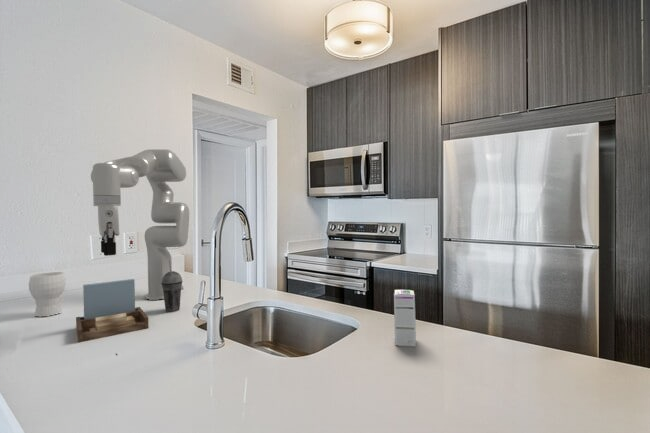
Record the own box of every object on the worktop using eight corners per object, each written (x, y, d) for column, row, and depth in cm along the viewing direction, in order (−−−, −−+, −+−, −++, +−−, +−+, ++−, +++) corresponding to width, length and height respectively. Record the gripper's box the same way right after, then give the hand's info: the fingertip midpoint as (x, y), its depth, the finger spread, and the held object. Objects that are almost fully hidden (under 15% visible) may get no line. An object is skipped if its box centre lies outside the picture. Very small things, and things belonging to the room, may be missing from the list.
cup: (50, 318, 120) (49, 277, 120) (21, 319, 121) (20, 277, 120) (73, 309, 131) (72, 271, 131) (46, 310, 131) (45, 271, 131)
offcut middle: (131, 320, 110) (131, 315, 110) (134, 323, 106) (134, 319, 106) (94, 327, 103) (94, 322, 103) (97, 331, 100) (97, 326, 100)
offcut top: (125, 317, 108) (125, 312, 108) (126, 320, 105) (126, 316, 105) (95, 322, 104) (95, 317, 104) (95, 326, 100) (95, 321, 100)
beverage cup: (186, 310, 129) (185, 258, 128) (176, 316, 122) (175, 261, 121) (168, 309, 130) (167, 258, 129) (157, 315, 122) (156, 261, 122)
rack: (139, 319, 118) (139, 306, 118) (148, 331, 107) (148, 317, 107) (76, 331, 107) (76, 317, 107) (78, 346, 95) (77, 330, 95)
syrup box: (416, 347, 92) (416, 294, 92) (394, 345, 93) (393, 293, 93) (415, 339, 98) (414, 289, 97) (394, 337, 99) (393, 288, 99)
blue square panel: (134, 319, 116) (133, 278, 115) (135, 320, 114) (134, 279, 114) (84, 328, 107) (83, 284, 107) (84, 330, 105) (83, 285, 105)
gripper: (124, 200, 105) (125, 255, 105) (117, 202, 119) (118, 250, 119) (95, 200, 101) (96, 257, 101) (91, 202, 114) (92, 252, 114)
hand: (108, 253), depth 110 cm, fingers open, 9 cm apart
